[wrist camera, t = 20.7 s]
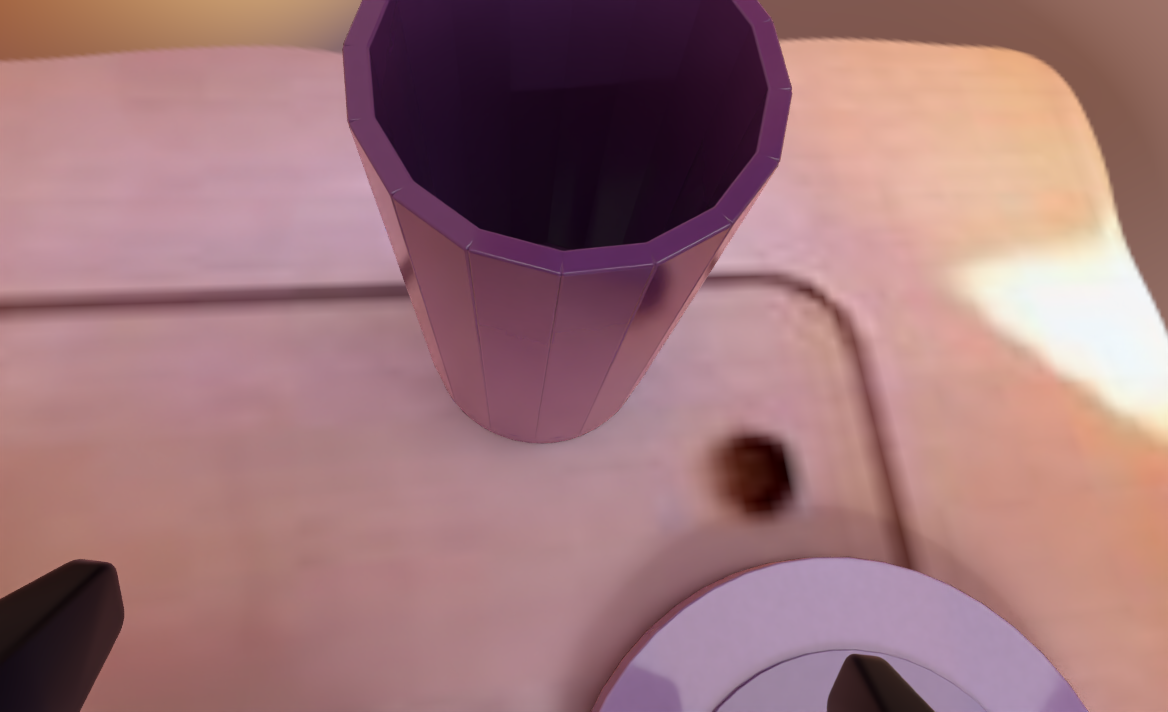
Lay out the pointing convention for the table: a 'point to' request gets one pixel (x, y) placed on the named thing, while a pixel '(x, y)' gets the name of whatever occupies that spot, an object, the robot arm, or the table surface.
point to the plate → (831, 644)
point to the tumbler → (560, 182)
